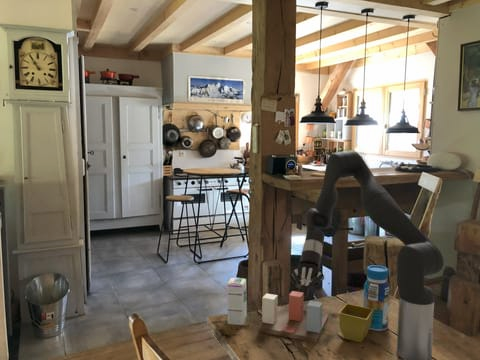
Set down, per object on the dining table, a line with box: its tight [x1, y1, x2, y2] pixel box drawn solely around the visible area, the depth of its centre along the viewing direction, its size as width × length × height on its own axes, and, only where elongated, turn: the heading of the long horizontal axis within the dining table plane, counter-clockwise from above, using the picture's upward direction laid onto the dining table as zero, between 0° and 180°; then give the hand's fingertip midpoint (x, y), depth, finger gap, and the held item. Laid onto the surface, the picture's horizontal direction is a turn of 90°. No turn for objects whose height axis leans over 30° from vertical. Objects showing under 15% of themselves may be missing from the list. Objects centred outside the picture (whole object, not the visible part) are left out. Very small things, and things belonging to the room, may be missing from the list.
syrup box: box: [226, 277, 248, 326], centre depth 142 cm, size 6×6×14 cm
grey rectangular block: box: [306, 300, 323, 333], centre depth 132 cm, size 4×4×8 cm
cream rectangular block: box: [261, 292, 279, 324], centre depth 138 cm, size 4×4×8 cm
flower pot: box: [338, 303, 373, 344], centre depth 131 cm, size 9×9×9 cm
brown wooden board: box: [258, 305, 329, 344], centre depth 140 cm, size 19×18×2 cm
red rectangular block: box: [288, 290, 305, 321], centre depth 140 cm, size 4×4×8 cm
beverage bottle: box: [362, 264, 391, 332], centre depth 138 cm, size 8×8×20 cm
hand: (303, 296), depth 149 cm, fingers closed
